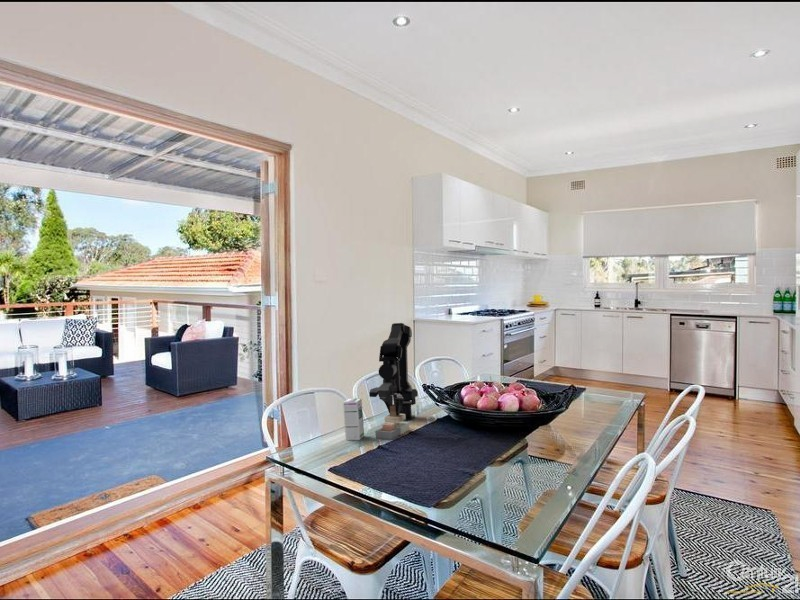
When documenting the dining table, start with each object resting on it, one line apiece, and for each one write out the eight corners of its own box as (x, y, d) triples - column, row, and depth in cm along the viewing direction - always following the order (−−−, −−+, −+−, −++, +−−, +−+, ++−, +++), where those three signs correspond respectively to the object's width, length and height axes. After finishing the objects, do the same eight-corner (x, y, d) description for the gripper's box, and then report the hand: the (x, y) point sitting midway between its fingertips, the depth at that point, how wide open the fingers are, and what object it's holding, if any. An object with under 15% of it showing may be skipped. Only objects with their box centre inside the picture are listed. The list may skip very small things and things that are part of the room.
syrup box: (360, 440, 177) (358, 401, 177) (345, 440, 178) (342, 401, 178) (364, 435, 183) (362, 398, 183) (349, 435, 184) (347, 398, 184)
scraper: (392, 418, 189) (391, 403, 189) (405, 419, 187) (404, 403, 187) (384, 422, 184) (383, 406, 184) (398, 423, 181) (397, 407, 181)
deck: (393, 428, 191) (393, 421, 191) (409, 429, 188) (408, 422, 188) (384, 433, 185) (384, 425, 185) (400, 434, 182) (400, 426, 182)
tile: (385, 423, 183) (382, 424, 180) (394, 423, 181) (391, 425, 178) (386, 433, 183) (382, 435, 180) (395, 434, 181) (392, 436, 178)
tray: (384, 433, 185) (384, 426, 185) (400, 434, 181) (400, 427, 181) (375, 438, 179) (375, 430, 179) (392, 440, 175) (391, 432, 175)
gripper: (360, 377, 182) (362, 418, 182) (403, 379, 173) (406, 422, 173) (375, 373, 192) (377, 411, 192) (417, 374, 183) (419, 414, 183)
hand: (394, 415), depth 185 cm, fingers closed on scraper, 2 cm apart
